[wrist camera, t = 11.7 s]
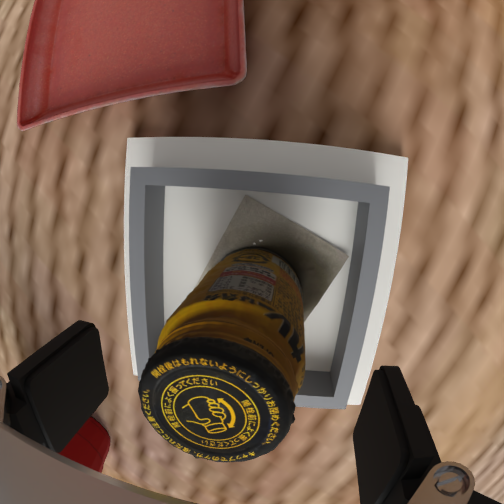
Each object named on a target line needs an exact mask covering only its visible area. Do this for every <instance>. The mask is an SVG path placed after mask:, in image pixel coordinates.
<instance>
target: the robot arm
mask: <svg viewBox="0 0 504 504" xmlns="http://www.w3.org/2000/svg"><path fill="white" fill-rule="evenodd" d="M7 375H8V377H9V380H10V381H9V382H8V383H6V381H5V379H4V378H3V377H1V376H0V504H197V503H193V502H189V501H185V500H181V499H177V498H173V497H170V496H166V495H163V494H159V493H156V492H153V491H150V490H146V489H143V488H140V487H137V486H134V485H132V484H129V483H126V482H123V481H120V480H118V479H115V478H112V477H110V476H107V475H105V474H102V473H100V472H98V471H95V470H93V469H90V468H88V467H86V466H83V465H81V464H79V463H77V462H75V461H72V460H70V459H68V458H66V457H64V456H62V455H60V454H58V453H60V452H61V451H62V450H63V449H64V448H65V447H66V445H67V444H68V443H69V442H70V440H71V439H72V438H73V437H74V436H75V434H76V433H77V432H78V431H79V429H80V428H81V427H82V426H83V425H84V423H85V422H86V421H87V420H88V419H89V417H90V416H91V415H92V414H93V413H94V411H95V410H96V409H97V408H98V406H99V405H100V404H101V403H102V402H103V400H104V399H105V398H106V397H107V395H108V392H109V387H108V382H107V377H106V372H105V366H104V361H103V355H102V349H101V342H100V335H99V331H98V329H97V328H96V327H95V325H94V324H93V323H89V322H85V321H82V320H79V321H77V322H75V323H74V324H73V325H71V326H70V327H69V328H67V329H66V330H64V331H63V332H62V333H60V334H59V335H58V336H56V337H55V338H54V339H52V340H51V341H50V342H48V343H47V344H45V345H44V346H43V347H41V348H40V349H39V350H37V351H36V352H35V353H33V354H32V355H31V356H30V357H28V358H27V359H26V360H24V361H23V362H22V363H20V364H19V365H18V366H16V367H15V368H14V369H13V370H11V371H10V372H9V373H7ZM353 442H354V450H355V458H356V467H357V475H358V485H359V495H360V504H502V503H499V502H497V501H495V500H493V499H491V498H489V497H486V496H484V495H482V494H480V493H478V492H476V491H474V486H475V480H474V476H473V474H472V472H471V471H470V470H469V469H468V468H467V467H465V466H464V465H462V464H460V463H456V462H448V461H447V462H442V463H441V460H440V457H439V455H438V452H437V449H436V447H435V444H434V441H433V439H432V436H431V434H430V431H429V428H428V426H427V423H426V421H425V418H424V416H423V414H422V411H421V409H420V407H419V406H417V405H415V403H414V401H413V399H412V396H411V394H410V391H409V389H408V387H407V384H406V382H405V379H404V377H403V375H402V372H401V370H400V368H399V367H398V366H381V367H380V369H379V370H375V371H374V372H373V375H372V378H371V382H370V385H369V388H368V391H367V394H366V397H365V400H364V403H363V406H362V409H361V412H360V415H359V417H358V420H357V423H356V426H355V428H354V433H353Z"/></svg>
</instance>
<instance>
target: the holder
mask: <svg viewBox="0 0 504 504" xmlns="http://www.w3.org/2000/svg"><path fill="white" fill-rule="evenodd" d="M407 167H408V158H406V157H401V156H395V155H390V154H384V153H377V152H371V151H364V150H357V149H350V148H343V147H335V146H326V145H317V144H308V143H298V142H286V141H274V140H259V139H242V138H217V137H140V138H128V139H127V152H126V169H125V194H124V261H125V286H126V303H127V317H128V329H129V339H130V349H131V358H132V366H133V374H134V375H137V376H138V381H140V380H141V375H142V371H143V370H144V369H145V365H146V363H147V362H148V358H151V356H152V355H153V354H154V353H155V351H156V349H157V345H158V339H159V336H160V334H161V331H162V329H163V327H164V326H165V323H166V320H167V319H168V318H169V317H170V316H171V315H172V314H173V313H174V311H175V310H176V309H177V308H178V307H179V306H180V305H181V303H182V302H183V301H184V300H185V299H186V297H187V295H188V294H189V293H190V292H192V291H193V290H194V288H195V286H196V285H197V283H198V281H199V279H200V277H201V275H202V273H203V271H204V269H205V268H206V266H207V264H208V262H209V260H210V258H211V256H212V255H213V253H214V251H215V249H216V247H217V245H218V243H219V241H220V240H221V238H222V236H223V234H224V232H225V231H226V229H227V227H228V225H229V223H230V221H231V219H232V218H233V216H234V214H235V212H236V210H237V209H238V207H239V205H240V203H241V202H242V200H243V198H244V196H245V195H247V196H249V197H251V198H252V199H254V200H256V201H258V202H259V203H261V204H263V205H265V206H267V207H268V208H270V209H272V210H273V211H275V212H277V213H278V214H280V215H282V216H284V217H286V218H288V219H289V220H291V221H292V222H294V223H296V224H297V225H299V226H301V227H302V228H304V229H306V230H307V231H309V232H311V233H313V234H314V235H316V236H317V237H319V238H321V239H322V240H324V241H326V242H327V243H329V244H330V245H332V246H334V247H335V248H337V249H338V250H340V251H342V252H343V253H345V254H346V255H348V256H349V257H348V259H347V260H346V262H345V264H344V265H343V267H342V268H341V270H340V271H339V273H338V274H337V276H336V277H335V278H334V280H333V281H332V283H331V284H330V286H329V287H328V289H327V291H326V292H325V293H324V295H323V296H322V298H321V299H320V301H319V303H318V304H317V305H316V307H315V308H314V309H313V311H312V312H311V314H310V315H309V316H308V318H307V319H306V321H305V322H304V329H305V330H304V334H305V360H306V365H305V376H304V380H303V384H302V386H301V387H300V390H299V391H298V393H297V394H296V396H295V400H294V403H295V405H296V406H297V407H310V408H327V409H346V406H347V404H349V405H360V403H361V400H362V397H363V394H364V391H365V388H366V384H367V381H368V378H369V374H370V371H371V367H372V364H373V360H374V357H375V353H376V349H377V345H378V342H379V338H380V334H381V330H382V325H383V321H384V317H385V312H386V308H387V303H388V299H389V294H390V289H391V284H392V279H393V274H394V268H395V262H396V257H397V251H398V244H399V238H400V231H401V224H402V216H403V208H404V199H405V190H406V179H407ZM259 241H260V242H261V241H263V240H259ZM253 244H256V243H255V242H254V243H253Z"/></svg>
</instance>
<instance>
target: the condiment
mask: <svg viewBox="0 0 504 504" xmlns="http://www.w3.org/2000/svg"><path fill="white" fill-rule="evenodd" d="M259 240H263V241H261V242H260V241H259ZM254 242H255V243H256V244H253V243H254ZM348 257H349V256H348V255H346V254H345V253H343V252H342V251H340V250H338V249H337V248H335V247H334V246H332V245H330V244H329V243H327V242H326V241H324V240H322V239H321V238H319V237H317V236H316V235H314V234H313V233H311V232H309V231H307V230H306V229H304V228H302V227H301V226H299V225H297V224H296V223H294V222H292V221H291V220H289V219H288V218H286V217H284V216H282V215H280V214H278V213H277V212H275V211H273V210H272V209H270V208H268V207H267V206H265V205H263V204H261V203H259V202H258V201H256V200H254V199H252V198H251V197H249V196H247V195H245V196H244V198H243V200H242V202H241V203H240V205H239V207H238V209H237V210H236V212H235V214H234V216H233V218H232V219H231V221H230V223H229V225H228V227H227V229H226V231H225V232H224V234H223V236H222V238H221V240H220V241H219V243H218V245H217V247H216V249H215V251H214V253H213V255H212V256H211V258H210V260H209V262H208V264H207V266H206V268H205V269H204V271H203V273H202V275H201V277H200V279H199V281H198V283H197V285H196V286H195V288H194V290H193V291H192V292H190V293H189V294H188V295H187V297H186V299H185V300H184V301H183V302H182V303H181V305H180V306H179V307H178V308H177V309H176V310H175V311H174V313H173V314H172V315H171V316H170V317H169V318H168V319H167V320H166V323H165V326H164V327H163V329H162V331H161V334H160V336H159V339H158V345H157V349H156V351H155V353H154V354H153V355H152V356H151V358H148V362H147V363H146V365H145V369H144V370H143V371H142V375H141V380H140V382H139V388H138V392H139V396H140V400H141V409H142V411H143V414H144V416H145V417H146V419H147V420H148V421H149V423H150V424H151V425H152V427H153V428H154V429H155V430H156V431H157V432H158V433H159V434H160V435H161V436H162V437H163V438H164V439H165V440H167V441H168V442H169V443H170V444H171V445H173V446H174V447H176V448H179V449H181V450H182V451H183V452H186V453H188V454H191V455H193V456H194V457H195V458H204V459H207V460H212V461H216V462H239V461H247V460H251V459H254V458H257V457H259V456H261V455H264V454H267V453H269V452H270V451H272V450H274V449H275V448H276V447H277V446H278V444H279V443H280V442H281V441H282V440H283V439H284V438H285V436H286V434H287V433H288V432H289V429H290V425H291V424H292V423H294V420H295V417H294V414H293V413H294V411H295V406H296V405H295V403H294V400H295V396H296V394H297V393H298V391H299V390H300V387H301V386H302V384H303V380H304V376H305V365H306V360H305V334H304V330H305V329H304V322H305V321H306V319H307V318H308V316H309V315H310V314H311V312H312V311H313V309H314V308H315V307H316V305H317V304H318V303H319V301H320V299H321V298H322V296H323V295H324V293H325V292H326V291H327V289H328V287H329V286H330V284H331V283H332V281H333V280H334V278H335V277H336V276H337V274H338V273H339V271H340V270H341V268H342V267H343V265H344V264H345V262H346V260H347V259H348Z"/></svg>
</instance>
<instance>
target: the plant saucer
mask: <svg viewBox="0 0 504 504" xmlns="http://www.w3.org/2000/svg"><path fill="white" fill-rule="evenodd" d="M246 74H247V60H246V39H245V20H244V0H35V2H34V5H33V9H32V14H31V17H30V22H29V27H28V32H27V37H26V42H25V48H24V53H23V61H22V68H21V76H20V84H19V96H18V109H17V127H18V128H19V129H20V130H21V131H25V130H28V129H30V128H33V127H36V126H39V125H42V124H45V123H48V122H51V121H54V120H57V119H60V118H64V117H67V116H71V115H74V114H78V113H81V112H85V111H89V110H92V109H96V108H100V107H104V106H108V105H113V104H117V103H121V102H126V101H131V100H136V99H141V98H146V97H151V96H157V95H163V94H169V93H175V92H182V91H189V90H196V89H206V88H214V87H224V86H232V85H236V84H238V83H240V82H242V81H243V80H244V78H245V77H246Z"/></svg>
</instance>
